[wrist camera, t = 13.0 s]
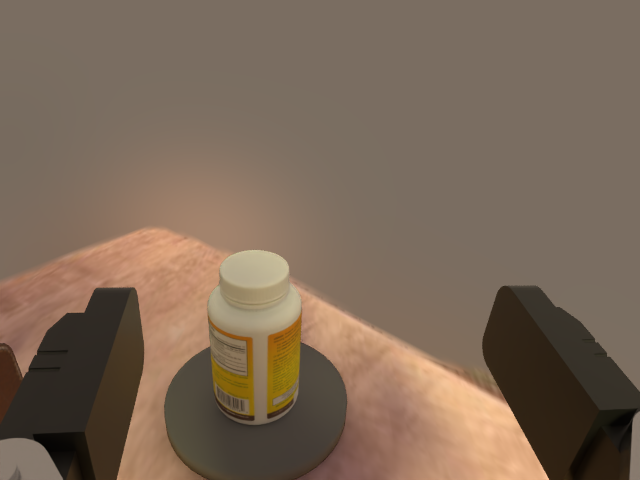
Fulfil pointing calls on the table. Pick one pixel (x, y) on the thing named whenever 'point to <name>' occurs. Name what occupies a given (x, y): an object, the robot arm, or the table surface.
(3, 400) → the letter holder
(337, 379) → the coaster
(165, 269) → the table surface
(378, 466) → the table surface
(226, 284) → the supplement bottle
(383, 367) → the table surface
